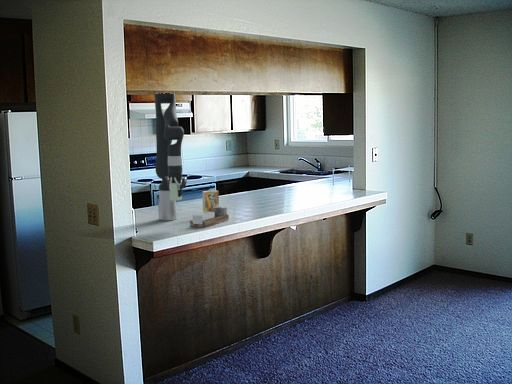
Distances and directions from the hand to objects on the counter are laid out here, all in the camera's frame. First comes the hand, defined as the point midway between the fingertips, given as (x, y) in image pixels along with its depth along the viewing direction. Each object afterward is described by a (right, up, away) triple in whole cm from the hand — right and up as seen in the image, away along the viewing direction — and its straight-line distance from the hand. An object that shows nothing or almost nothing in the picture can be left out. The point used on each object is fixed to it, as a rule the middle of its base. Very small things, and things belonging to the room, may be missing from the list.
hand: (176, 196), depth 323 cm
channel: (+17, -15, +13) cm, 26 cm away
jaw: (+14, -14, +7) cm, 21 cm away
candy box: (+17, -13, +31) cm, 37 cm away
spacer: (0, -2, 0) cm, 2 cm away
